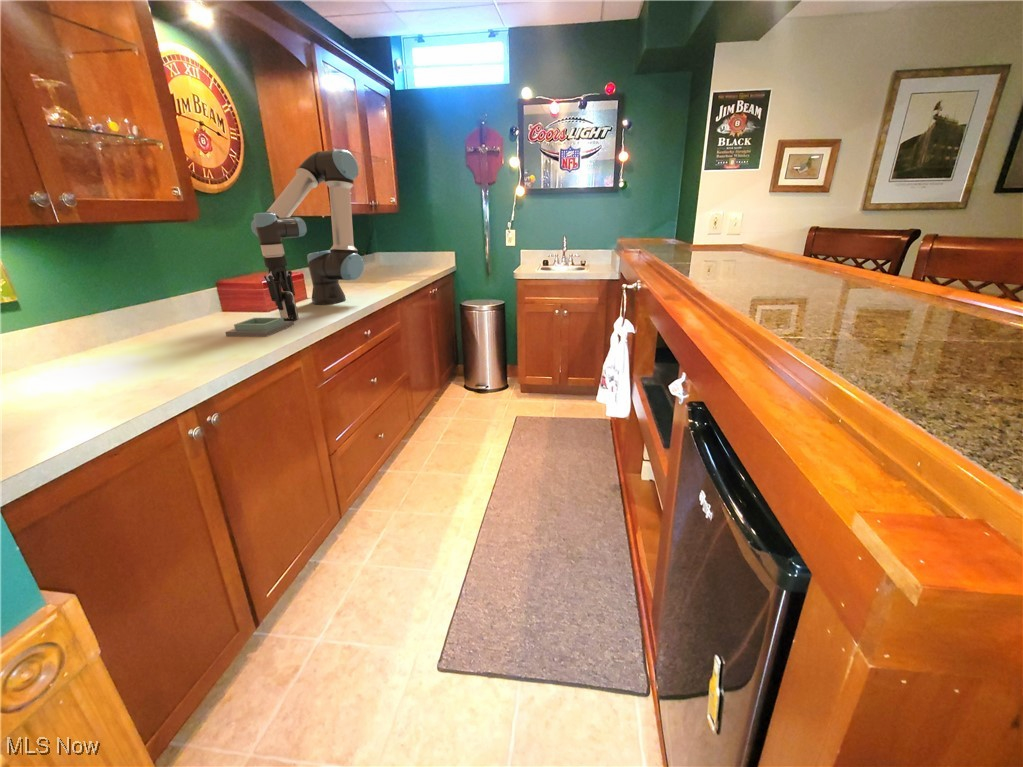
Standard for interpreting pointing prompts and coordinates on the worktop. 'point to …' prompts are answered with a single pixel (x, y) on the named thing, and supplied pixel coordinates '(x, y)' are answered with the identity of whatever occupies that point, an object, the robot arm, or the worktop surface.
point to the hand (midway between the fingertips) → (288, 316)
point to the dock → (259, 327)
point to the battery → (289, 305)
